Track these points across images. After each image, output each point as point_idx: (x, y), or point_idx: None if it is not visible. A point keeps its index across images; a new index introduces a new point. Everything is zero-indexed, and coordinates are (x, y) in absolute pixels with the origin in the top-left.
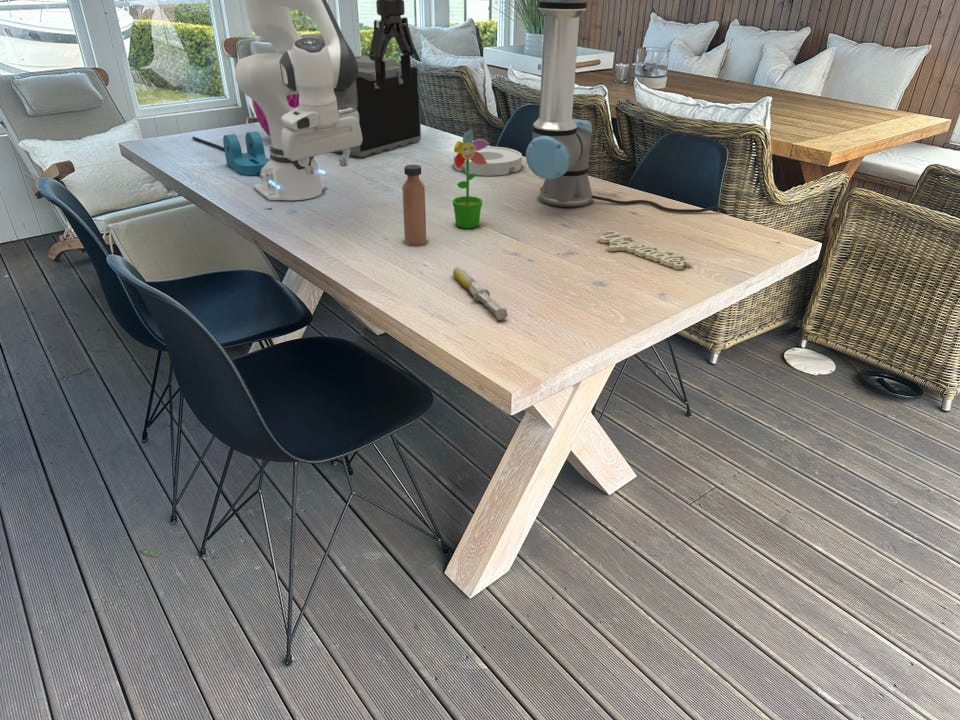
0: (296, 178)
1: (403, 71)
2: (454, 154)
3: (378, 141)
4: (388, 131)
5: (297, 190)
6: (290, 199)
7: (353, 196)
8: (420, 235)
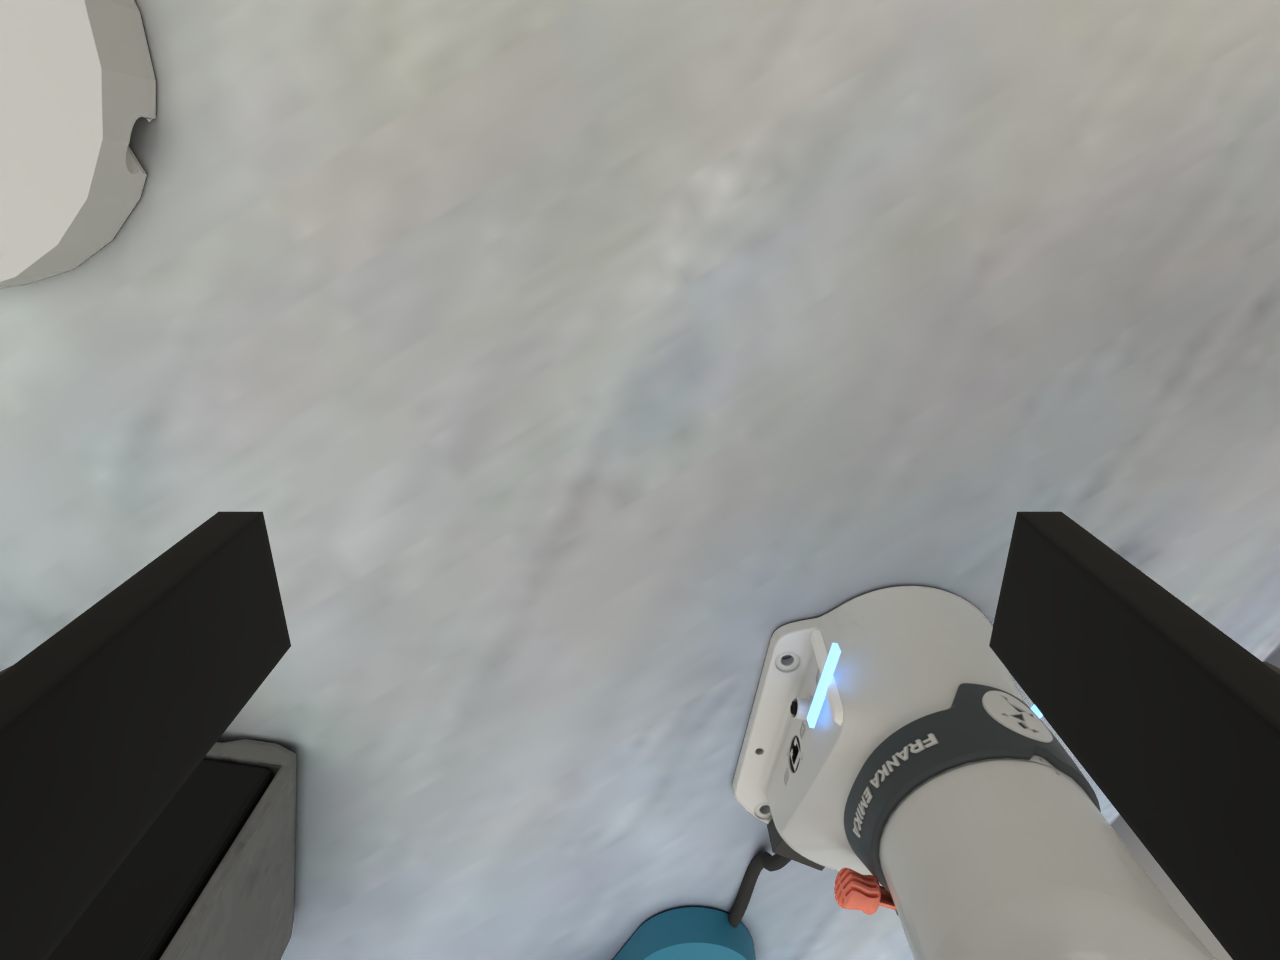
0: (1011, 682)
1: (217, 690)
2: (24, 263)
3: None
4: None
5: None
6: None
7: (838, 455)
8: None
